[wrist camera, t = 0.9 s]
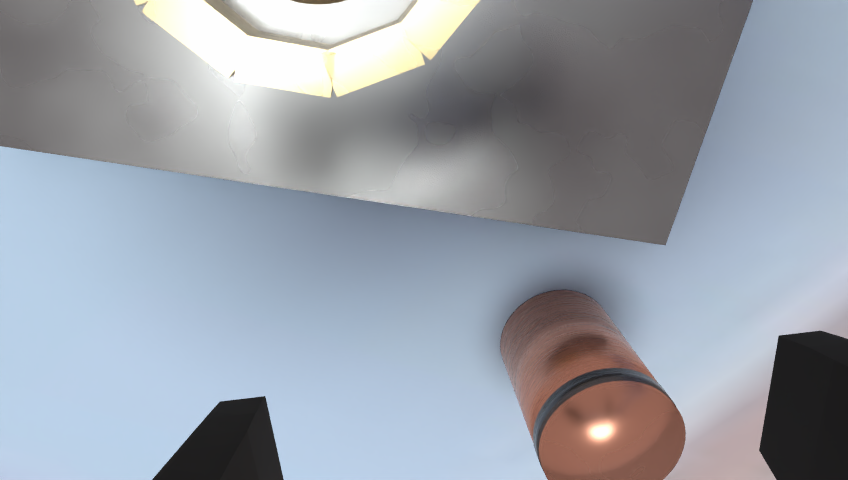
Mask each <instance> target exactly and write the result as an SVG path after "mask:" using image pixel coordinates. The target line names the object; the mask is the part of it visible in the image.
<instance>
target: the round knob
mask: <svg viewBox="0 0 848 480" xmlns="http://www.w3.org/2000/svg"><path fill="white" fill-rule="evenodd" d="M500 348H501V355H502V358H503V361H504V364H505V367H506V369H507V372H508V375H509V378H510V380H511V383H512V386H513V388H514V391H515V394H516V397H517V399H518V402H519V405H520V408H521V410H522V413H523V416H524V419H525V421H526V424H527V427H528V429H529V432H530V435H531V438H532V440H533V443H534V447H535V451H536V454H537V456H538V459H539V462H540V465H541V467H542V469H543V471H544V473H545V475H546V477H547V479H548V480H663V479H664V478H665V477H666V476H667V475H668V474H669V473H670V472H671V471H672V469H673V468H674V467H675V465H676V464H677V462H678V460H679V458H680V456H681V454H682V451H683V448H684V444H685V425H684V421H683V418H682V416H681V414H680V412H679V411H678V409H677V408H676V406H675V404H674V402H673V401H672V400H671V398H670V397H669V396H668V394H667V393H666V392H665V390H664V389H663V388H662V387H661V385H660V384H658V382H657V381H656V380H655V378H654V377H653V376H652V374H651V373H650V372H649V370H648V369H647V367H646V366H645V365H644V363H643V362H642V361H641V359H640V358H639V357H638V355H637V354H636V353H635V351H634V350H633V349H632V347H631V346H630V345H629V343H628V342H627V341H626V339H625V338H624V336H623V335H622V334H621V332H620V331H619V330H618V328H617V327H616V326H615V324H614V323H613V322H612V320H611V319H610V318H609V316H608V315H607V314H606V312H605V311H604V310H603V308H602V307H601V306H600V305H599V304H598V303H597V302H596V301H595V300H594V299H592V298H591V297H589V296H587V295H585V294H582V293H579V292H575V291H569V290H556V291H550V292H546V293H542V294H540V295H537V296H535V297H533V298H531V299H529V300H527V301H526V302H525V303H523V304H522V305H521V306H519V307H518V308H517V309H516V310H515V311H514V312H513V314H512V315H511V316H510V318H509V319H508V321H507V322H506V324H505V326H504V329H503V332H502V335H501V342H500Z"/></svg>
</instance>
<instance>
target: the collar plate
mask: <svg viewBox="0 0 848 480" xmlns="http://www.w3.org/2000/svg"><path fill="white" fill-rule="evenodd" d="M752 2H753V0H0V146H4V147H11V148H17V149H24V150H31V151H37V152H44V153H51V154H58V155H64V156H71V157H78V158H84V159H91V160H98V161H104V162H111V163H118V164H125V165H131V166H138V167H145V168H151V169H158V170H165V171H171V172H178V173H185V174H192V175H198V176H205V177H212V178H218V179H225V180H232V181H238V182H245V183H252V184H259V185H265V186H272V187H279V188H285V189H292V190H299V191H306V192H312V193H319V194H326V195H332V196H339V197H346V198H352V199H359V200H366V201H373V202H379V203H386V204H393V205H399V206H406V207H413V208H419V209H426V210H433V211H440V212H446V213H453V214H460V215H466V216H473V217H480V218H487V219H493V220H500V221H507V222H513V223H520V224H527V225H533V226H540V227H547V228H554V229H560V230H567V231H574V232H580V233H587V234H594V235H600V236H607V237H614V238H621V239H627V240H634V241H641V242H647V243H654V244H661V245H666V242H667V239H668V237H669V234H670V231H671V228H672V225H673V223H674V220H675V217H676V214H677V211H678V209H679V206H680V203H681V200H682V197H683V195H684V192H685V189H686V186H687V184H688V181H689V178H690V175H691V172H692V170H693V167H694V164H695V161H696V158H697V156H698V153H699V150H700V147H701V144H702V142H703V139H704V136H705V133H706V130H707V128H708V125H709V122H710V119H711V116H712V114H713V111H714V108H715V105H716V103H717V100H718V97H719V94H720V91H721V89H722V86H723V83H724V80H725V77H726V75H727V72H728V69H729V66H730V63H731V61H732V58H733V55H734V52H735V49H736V47H737V44H738V41H739V38H740V35H741V33H742V30H743V27H744V24H745V21H746V19H747V16H748V13H749V10H750V8H751V5H752Z"/></svg>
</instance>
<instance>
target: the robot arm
mask: <svg viewBox="0 0 848 480" xmlns="http://www.w3.org/2000/svg"><path fill="white" fill-rule="evenodd" d="M759 451H760V452H761V454H762V456H763V458H764V459H765V461H766V463H767V464H768V466H769V468H770V469H771V471H772V473H773V474H774V476H775V478H776V479H777V480H848V339H846V338H843V337H840V336H836V335H833V334H830V333H826V332H823V331H815V332H806V333H798V334H789V335H781V336H779V338H778V343H777V349H776V355H775V361H774V367H773V373H772V379H771V385H770V390H769V396H768V402H767V408H766V414H765V420H764V426H763V432H762V437H761V443H760V449H759ZM152 480H283V475H282V471H281V466H280V462H279V457H278V452H277V448H276V443H275V439H274V434H273V430H272V425H271V421H270V416H269V411H268V407H267V402H266V398H265V396H264V397H256V398H247V399H239V400H230V401H222V402H219V403H218V404H217V406H216V407H215V408H214V409H213V410H212V411H211V412H210V413H209V415H208V416H207V417H206V418H205V419H204V420H203V421H202V423H201V424H200V425H199V426H198V427H197V428H196V429H195V431H194V432H193V433H192V434H191V435H190V436H189V438H188V439H187V440H186V441H185V442H184V443H183V445H182V446H181V447H180V448H179V449H178V450H177V452H176V453H175V454H174V455H173V456H172V457H171V459H170V460H169V461H168V462H167V463H166V464H165V465H164V467H163V468H162V469H161V470H160V471H159V472H158V474H157V475H156V476H155V477H154V478H153V479H152Z"/></svg>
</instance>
